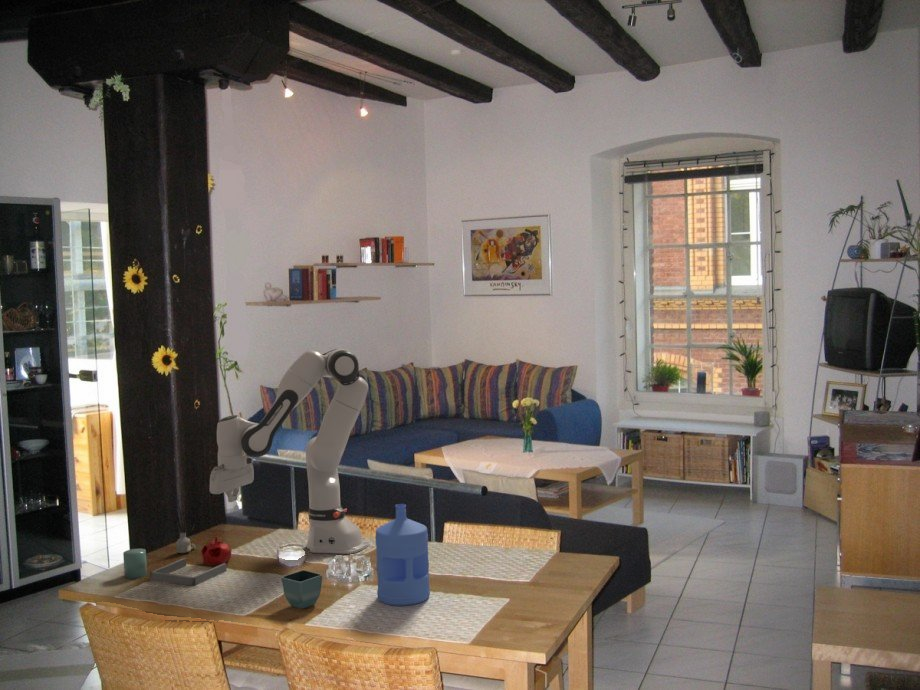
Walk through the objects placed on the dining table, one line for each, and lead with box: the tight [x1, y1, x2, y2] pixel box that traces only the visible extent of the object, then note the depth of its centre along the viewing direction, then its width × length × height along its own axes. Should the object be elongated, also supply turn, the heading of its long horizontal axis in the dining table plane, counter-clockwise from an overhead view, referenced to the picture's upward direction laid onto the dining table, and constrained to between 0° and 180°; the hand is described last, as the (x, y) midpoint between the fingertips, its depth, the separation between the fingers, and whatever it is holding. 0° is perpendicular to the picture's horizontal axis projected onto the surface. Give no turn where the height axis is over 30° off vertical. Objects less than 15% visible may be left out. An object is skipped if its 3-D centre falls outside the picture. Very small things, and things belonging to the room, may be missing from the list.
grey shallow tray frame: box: [149, 557, 228, 587], centre depth 299 cm, size 18×16×2 cm
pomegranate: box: [200, 535, 232, 567], centre depth 311 cm, size 10×10×9 cm
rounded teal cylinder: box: [122, 548, 148, 580], centre depth 300 cm, size 7×7×8 cm
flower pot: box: [281, 569, 323, 610], centre depth 267 cm, size 9×9×9 cm
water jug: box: [375, 503, 431, 607], centre depth 271 cm, size 16×16×28 cm
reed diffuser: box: [171, 496, 197, 554], centre depth 324 cm, size 10×7×20 cm
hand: (232, 501), depth 319 cm, fingers closed
